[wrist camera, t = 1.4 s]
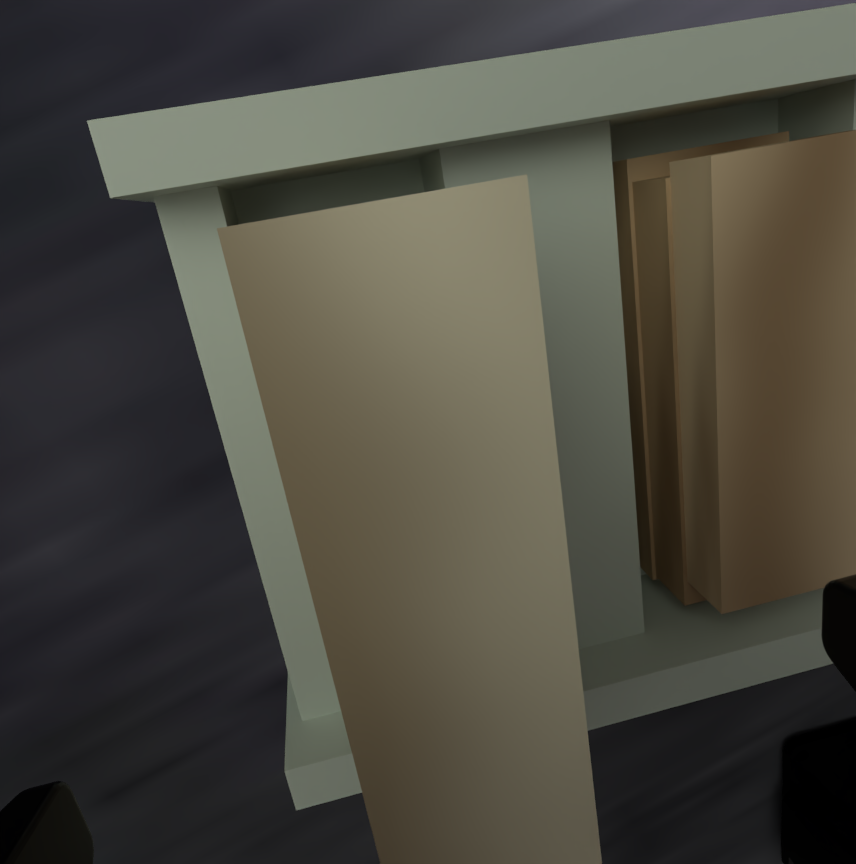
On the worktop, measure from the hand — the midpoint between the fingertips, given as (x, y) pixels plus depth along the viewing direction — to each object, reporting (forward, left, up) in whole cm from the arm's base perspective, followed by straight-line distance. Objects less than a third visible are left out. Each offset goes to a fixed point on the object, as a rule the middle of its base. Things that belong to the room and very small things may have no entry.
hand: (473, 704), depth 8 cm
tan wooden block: (0, 0, -11) cm, 11 cm away
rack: (-4, 0, -12) cm, 12 cm away
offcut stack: (-9, 0, -11) cm, 14 cm away
